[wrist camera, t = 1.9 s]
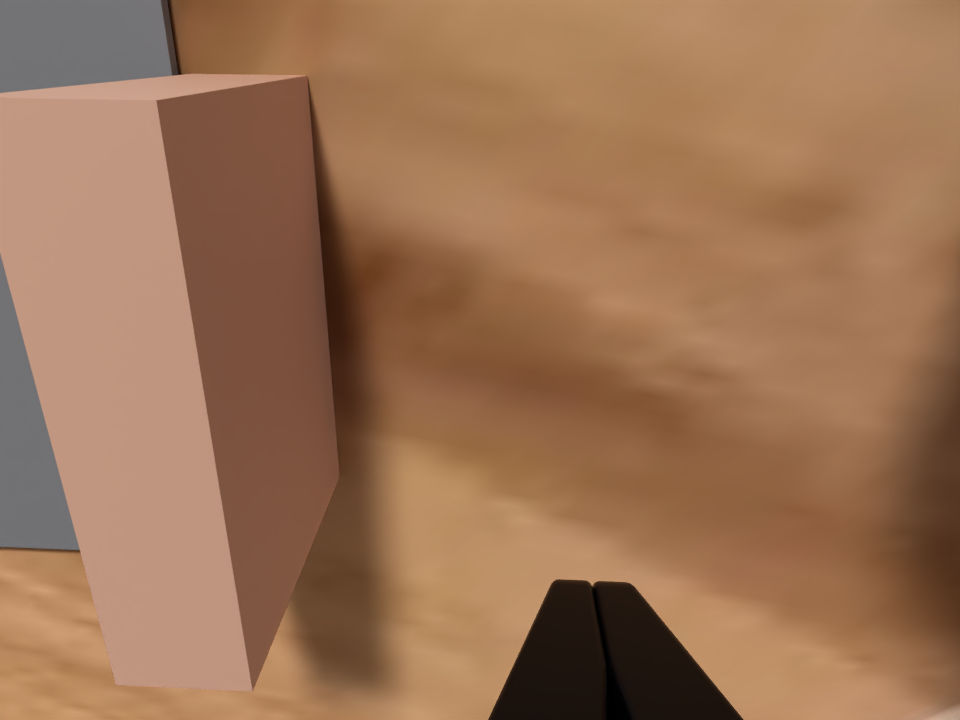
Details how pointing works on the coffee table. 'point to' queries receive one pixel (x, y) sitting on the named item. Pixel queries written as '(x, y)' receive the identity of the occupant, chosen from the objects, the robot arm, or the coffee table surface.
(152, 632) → the block
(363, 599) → the coffee table surface
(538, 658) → the robot arm
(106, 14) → the mat
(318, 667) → the coffee table surface
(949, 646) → the coffee table surface
